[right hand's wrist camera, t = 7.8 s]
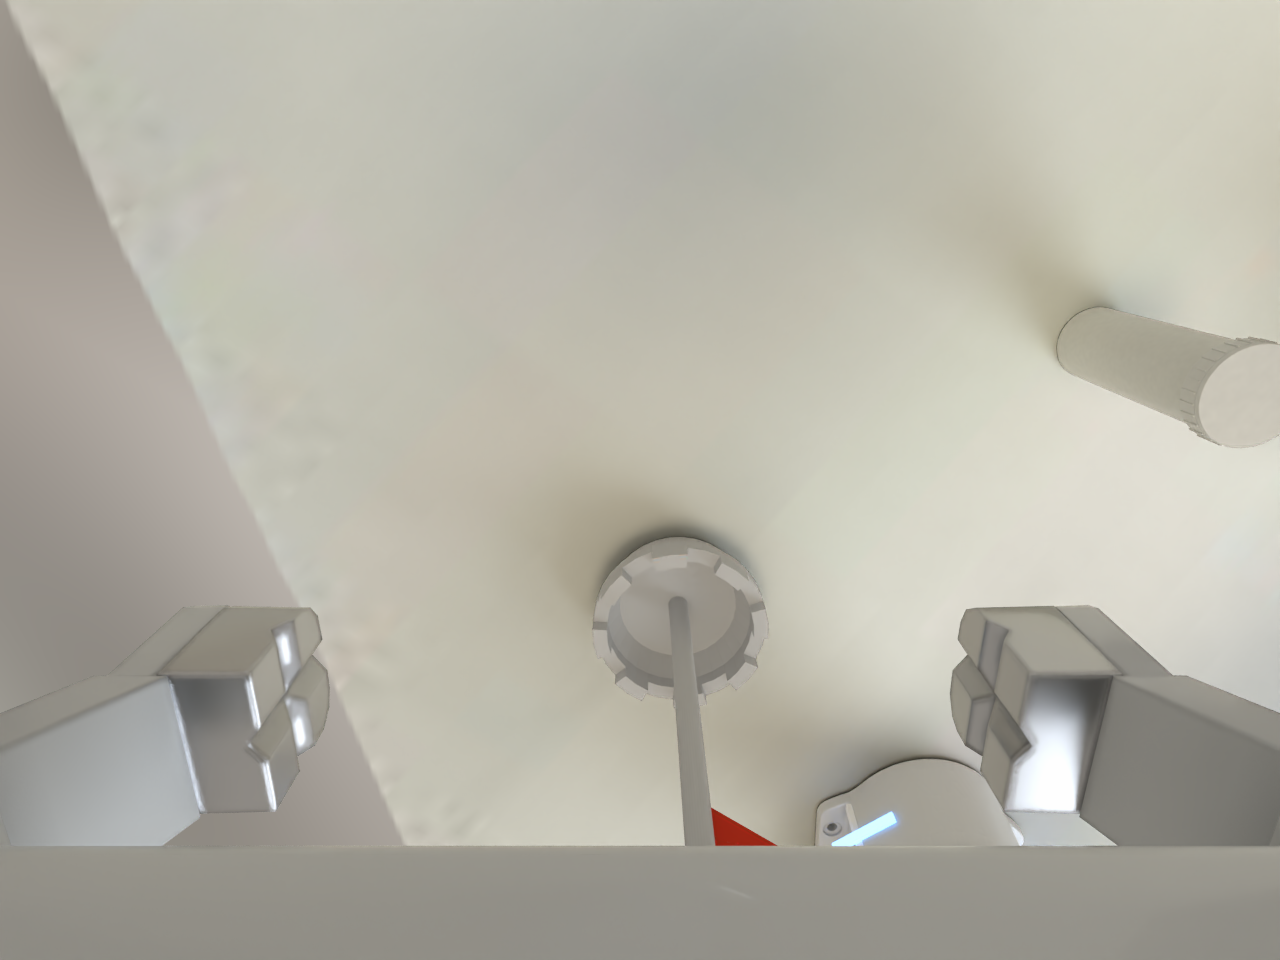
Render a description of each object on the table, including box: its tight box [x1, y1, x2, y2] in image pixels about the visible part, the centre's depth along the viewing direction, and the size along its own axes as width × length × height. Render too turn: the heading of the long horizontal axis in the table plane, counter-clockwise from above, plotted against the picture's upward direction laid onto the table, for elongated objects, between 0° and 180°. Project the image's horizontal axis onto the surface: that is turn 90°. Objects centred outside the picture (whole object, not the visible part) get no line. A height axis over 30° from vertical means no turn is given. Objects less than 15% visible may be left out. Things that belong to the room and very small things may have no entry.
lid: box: [1179, 337, 1280, 448], centre depth 43 cm, size 6×6×2 cm
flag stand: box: [592, 537, 777, 846], centre depth 50 cm, size 13×13×30 cm
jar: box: [1057, 307, 1233, 423], centre depth 49 cm, size 5×5×16 cm
